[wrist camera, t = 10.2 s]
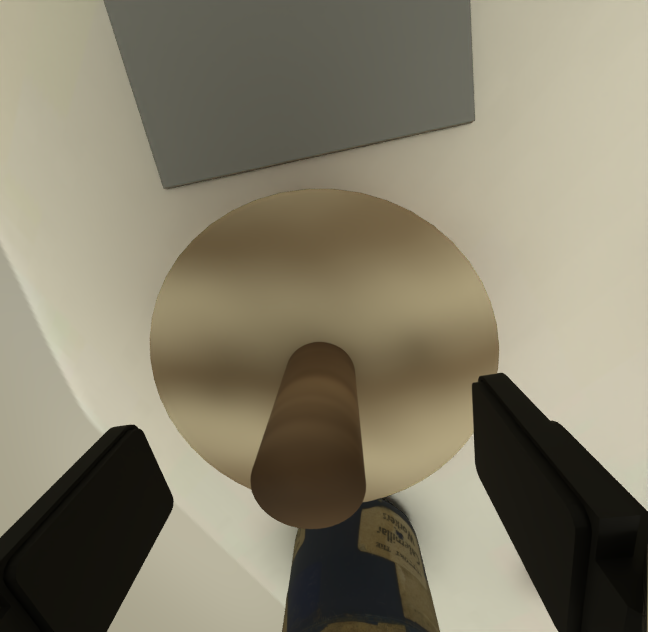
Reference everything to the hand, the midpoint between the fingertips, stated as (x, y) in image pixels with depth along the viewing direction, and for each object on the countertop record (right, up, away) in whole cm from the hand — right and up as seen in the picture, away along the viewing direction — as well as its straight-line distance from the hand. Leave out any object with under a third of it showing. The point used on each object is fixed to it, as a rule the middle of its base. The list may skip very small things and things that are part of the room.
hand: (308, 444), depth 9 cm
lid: (0, +1, +6) cm, 6 cm away
